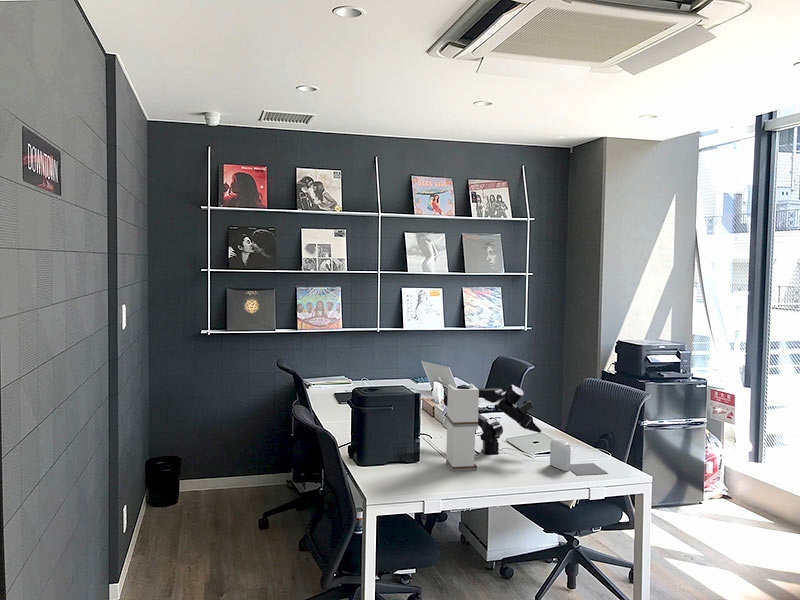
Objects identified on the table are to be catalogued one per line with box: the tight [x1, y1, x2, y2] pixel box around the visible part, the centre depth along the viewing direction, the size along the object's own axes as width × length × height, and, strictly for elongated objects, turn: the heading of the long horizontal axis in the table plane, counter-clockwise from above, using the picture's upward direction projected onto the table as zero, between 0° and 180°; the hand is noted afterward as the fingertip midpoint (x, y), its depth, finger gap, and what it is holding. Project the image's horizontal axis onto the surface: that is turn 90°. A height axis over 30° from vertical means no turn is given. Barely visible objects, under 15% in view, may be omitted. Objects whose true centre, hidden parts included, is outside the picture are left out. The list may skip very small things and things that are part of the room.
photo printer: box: [549, 438, 572, 472], centre depth 291 cm, size 10×4×12 cm, turn 26°
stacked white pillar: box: [445, 383, 480, 473], centre depth 289 cm, size 11×11×35 cm
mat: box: [569, 462, 609, 476], centre depth 290 cm, size 14×13×1 cm
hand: (539, 431), depth 302 cm, fingers open, 9 cm apart
